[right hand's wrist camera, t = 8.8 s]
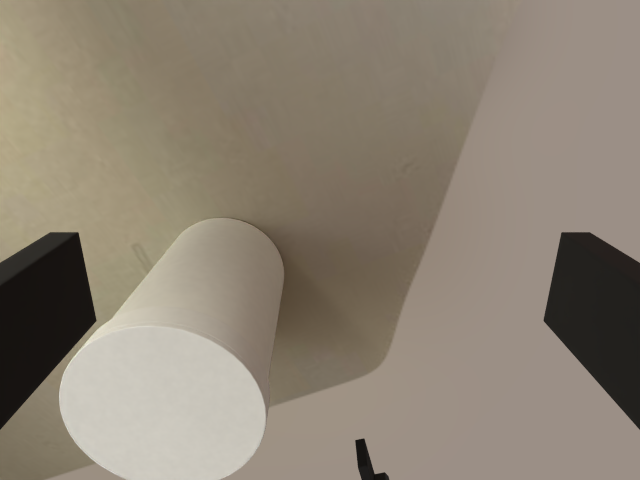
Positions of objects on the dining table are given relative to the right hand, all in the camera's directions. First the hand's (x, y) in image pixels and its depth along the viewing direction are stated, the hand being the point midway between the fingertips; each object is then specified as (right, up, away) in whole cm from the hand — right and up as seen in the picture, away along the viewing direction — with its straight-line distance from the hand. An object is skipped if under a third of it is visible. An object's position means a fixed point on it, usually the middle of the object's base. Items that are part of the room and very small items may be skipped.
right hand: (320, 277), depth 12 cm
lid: (-8, -7, +10) cm, 14 cm away
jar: (-8, -2, +24) cm, 25 cm away
